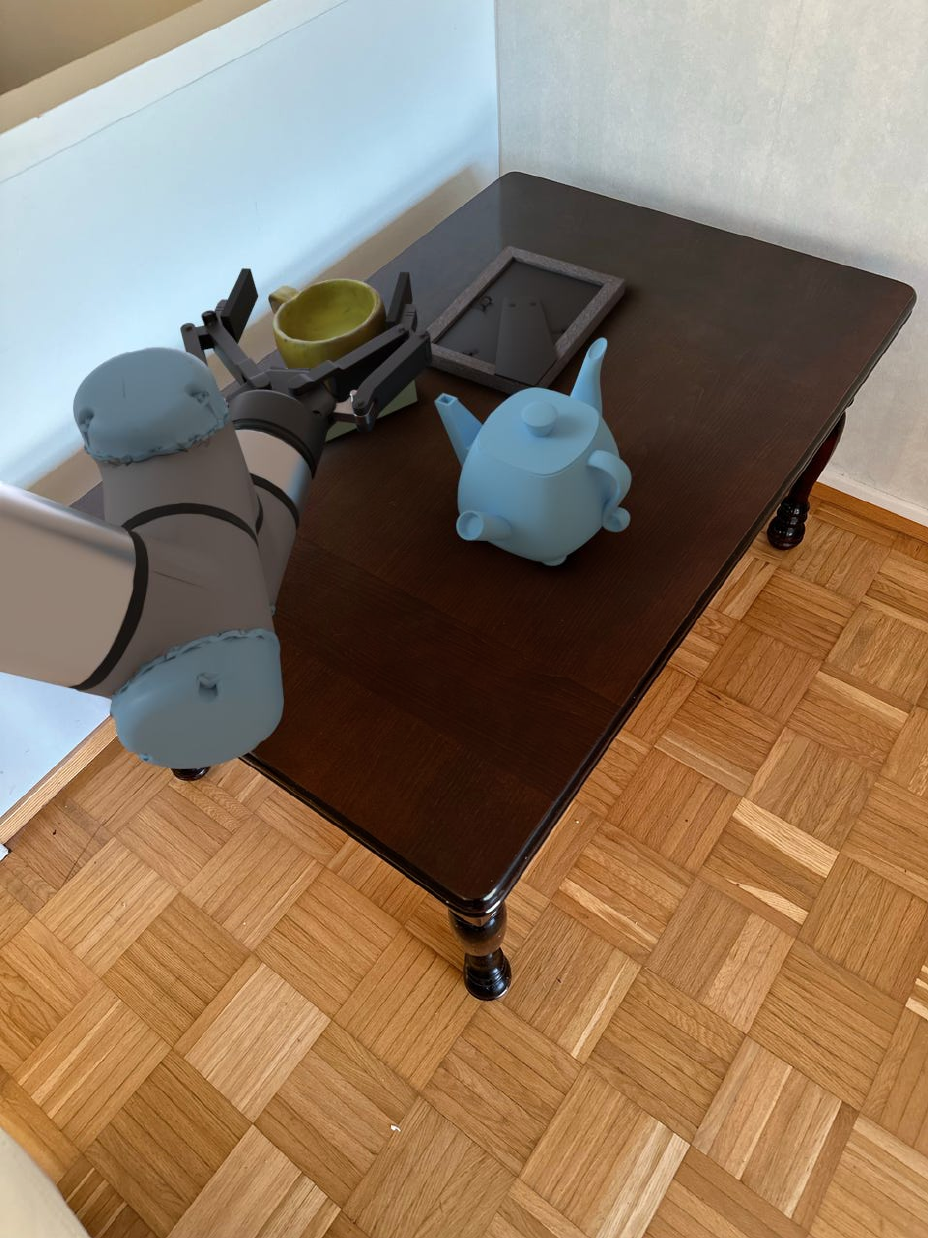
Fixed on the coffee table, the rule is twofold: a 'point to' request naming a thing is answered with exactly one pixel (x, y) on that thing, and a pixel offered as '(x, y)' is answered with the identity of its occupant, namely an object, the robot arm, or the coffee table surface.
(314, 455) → the robot arm
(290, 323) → the mug
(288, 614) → the coffee table surface
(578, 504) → the teapot
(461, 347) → the picture frame
